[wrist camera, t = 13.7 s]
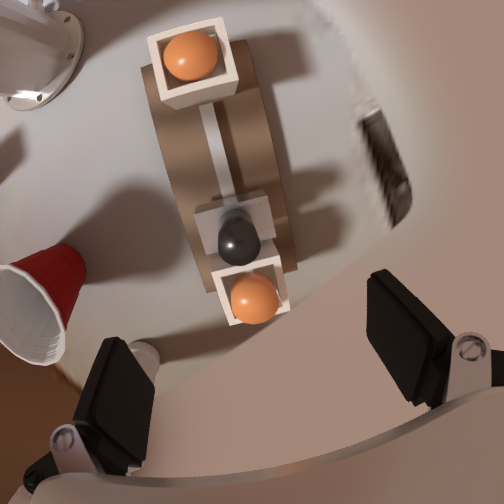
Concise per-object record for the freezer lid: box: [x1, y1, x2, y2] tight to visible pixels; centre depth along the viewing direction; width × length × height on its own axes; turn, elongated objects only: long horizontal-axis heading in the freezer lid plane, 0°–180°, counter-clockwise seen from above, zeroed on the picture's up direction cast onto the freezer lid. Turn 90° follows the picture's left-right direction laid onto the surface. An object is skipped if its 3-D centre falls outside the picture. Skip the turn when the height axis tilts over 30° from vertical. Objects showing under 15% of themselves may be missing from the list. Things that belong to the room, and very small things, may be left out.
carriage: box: [194, 189, 276, 266], centre depth 22 cm, size 4×6×8 cm, turn 103°
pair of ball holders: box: [147, 17, 291, 326], centre depth 22 cm, size 24×5×8 cm, turn 13°
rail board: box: [141, 40, 298, 293], centre depth 25 cm, size 24×10×2 cm, turn 13°
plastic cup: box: [0, 244, 86, 366], centre depth 22 cm, size 11×11×12 cm
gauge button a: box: [164, 32, 218, 83], centre depth 15 cm, size 4×4×2 cm
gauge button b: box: [231, 272, 279, 324], centre depth 22 cm, size 4×4×2 cm
